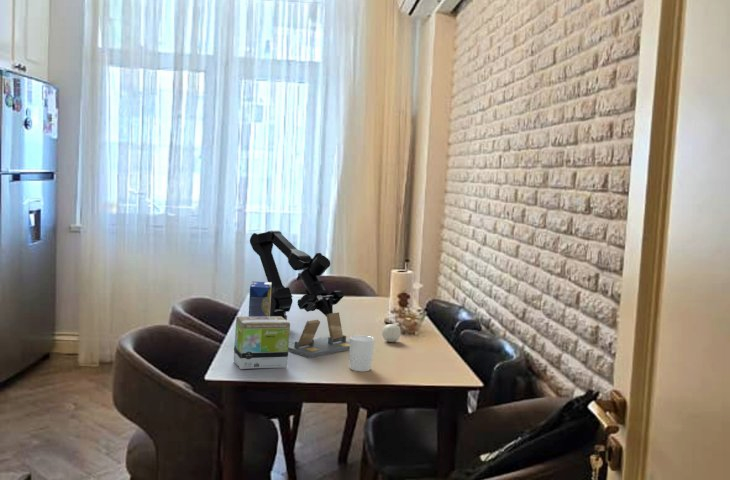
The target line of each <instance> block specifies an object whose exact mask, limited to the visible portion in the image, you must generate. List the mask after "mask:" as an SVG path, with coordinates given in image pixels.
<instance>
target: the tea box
mask: <svg viewBox="0 0 730 480" xmlns="http://www.w3.org/2000/svg"><path fill="white" fill-rule="evenodd" d="M290 329H291V322H289V321H288V319H287V320H285V319H284V318H283V317H282V316H260V317H249V316H236V320H235V332H234V333H235V334H234V346H233V348H234V349H233V362H234V364H235V365H236V366H237V367H238V366H239V367H238V368H239V369H240V370H246V369H247V370H249V369H280V368H281V369H282V368H283V369H286V368H287V367H288V360H289V359H288V357H289V351H288V346H289V344H290V333H291V332H290V331H291V330H290Z"/></svg>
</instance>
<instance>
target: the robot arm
mask: <svg viewBox="0 0 730 480" xmlns="http://www.w3.org/2000/svg"><path fill="white" fill-rule="evenodd" d="M249 244H250V246H251V248H252V250H253V252H255V254H257V255H258V256H259V260H260V262H261V265H262V269H263V271H264V274H265V278H266V280H267V282H272V289H271V308H270V316H282V317H283V318H284V319H285V320H287V321H288V315H287V313H289V312H290V311H291V308H292V304H293V303H294V302H293V295H292V292H291V288H290V287H285V285H283V283H282V279H281V276H280V273H279V270H278V268H277V264H276V262H275V259H274V255H273V252H272V251H273V247H274V246H275V247H276V248H277V249H278V250H279V251H280V252H281V253H282V254H283V255H284V257H286V258H287V263H288V265H289V266H290V267H291V269H292V270H293V271H301V272H299V273H297V274H298V275H297V277H296V281H298V282H299V281H302V283H303V285H304V287H305V288H306V289H305V290H304V293H305V294H303V295H302V296H301V297H300V298H299V299H297V306H298V308H299V310H305V312H307V313H308V312H315V311H316V310H318V311H320V312H321V314H323V315H324V316H325V317H326V318H327V316H326V314H331V313H334V311H333V306H334V305H337V304H338V303H339V302H341V300H342V299H343V298H344V297H345V294H344V293H343V291H342V290H334V291H333V290H332V292H331V293H330V292H329V290H328V289H325V287H324V286H323V284H324V280H320V278H319V277H321V276H322V275H323V274H324V273H325V272H326V271H327V270H328V269H329V267H330V266H331V261H330V259H329V258H328V257H327V256H325V255H323V254H322V253H321V252H316V253H315V255H314V256H313V257H311V256H310V255H309V254H308V253H307V252H306V251H303V250H299V249H298V248H297V247H295V246H294V245H293V244H292V242H291V241H289V240H288V239H287V237H285V236H284V235H283V233H282V232H281V231H280V230H269V231H265V232H254V233H252V234H251V236H250V237H249ZM329 293H330V294H329ZM328 294H329V295H328Z"/></svg>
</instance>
